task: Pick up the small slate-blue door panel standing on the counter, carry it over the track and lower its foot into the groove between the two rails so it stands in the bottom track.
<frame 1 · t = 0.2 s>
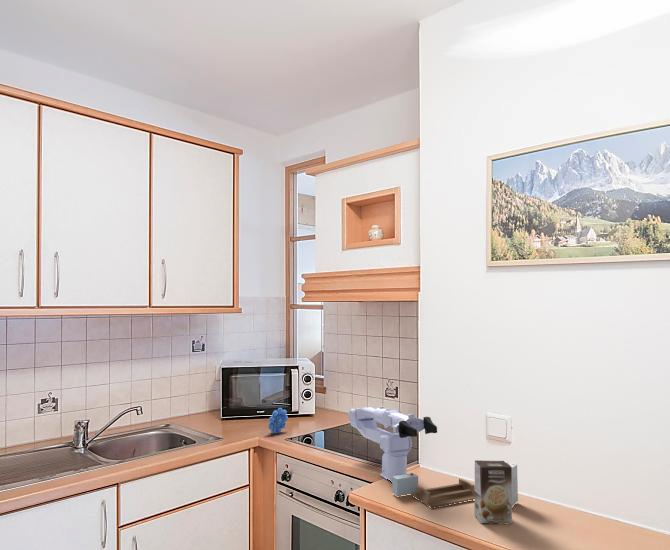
hand: (426, 431, 166), 21 cm above the counter, tool horizontal, fingers open, 7 cm apart
skincare box: (508, 505, 159), on the counter
coffee box: (493, 520, 148), on the counter
door panel: (405, 494, 167), on the counter
grapes: (276, 433, 246), on the counter
track: (445, 498, 164), on the counter
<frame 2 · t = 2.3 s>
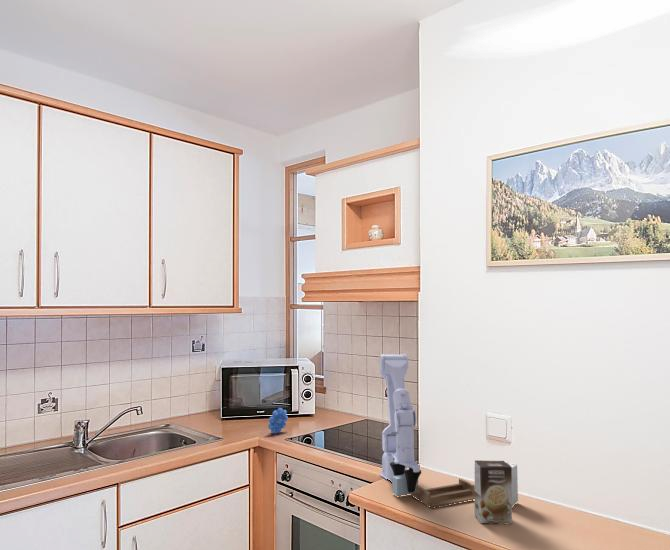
hand: (405, 488, 167), 2 cm above the counter, tool pointing down, fingers open, 7 cm apart
nothing on the counter moved.
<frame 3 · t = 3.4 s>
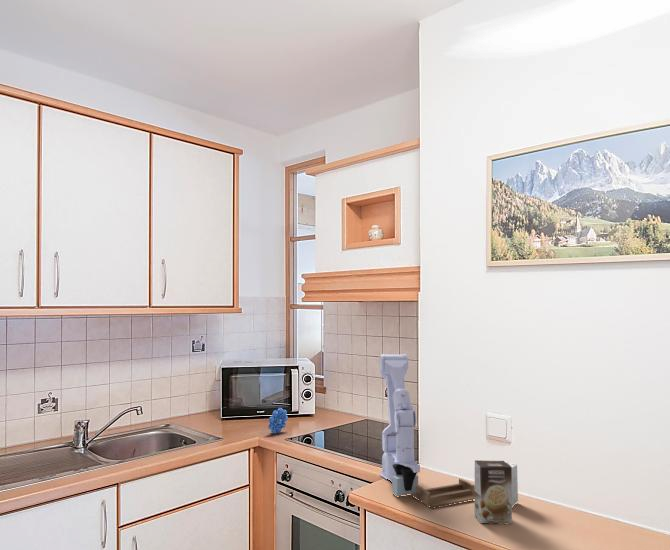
hand: (405, 488, 167), 2 cm above the counter, tool pointing down, fingers closed on door panel, 3 cm apart
door panel: (405, 494, 167), on the counter, touching gripper
everything else where it was.
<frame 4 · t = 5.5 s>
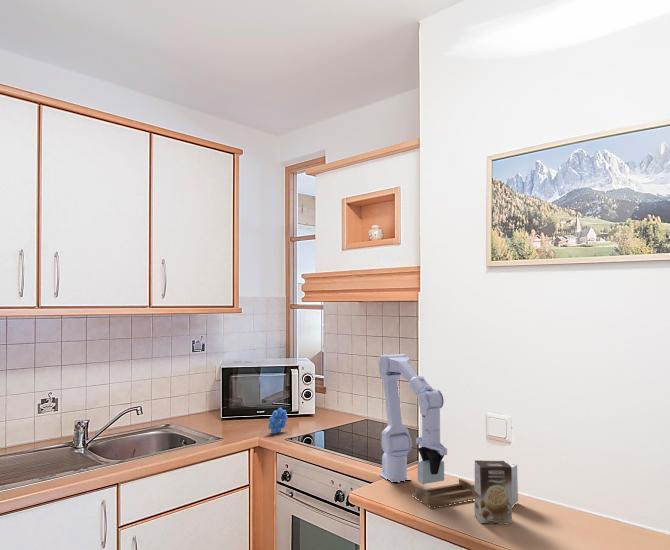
hand: (431, 472, 162), 9 cm above the counter, tool pointing down, fingers closed on door panel, 3 cm apart
door panel: (430, 480, 162), point 6 cm above the counter, touching gripper
everything else where it was.
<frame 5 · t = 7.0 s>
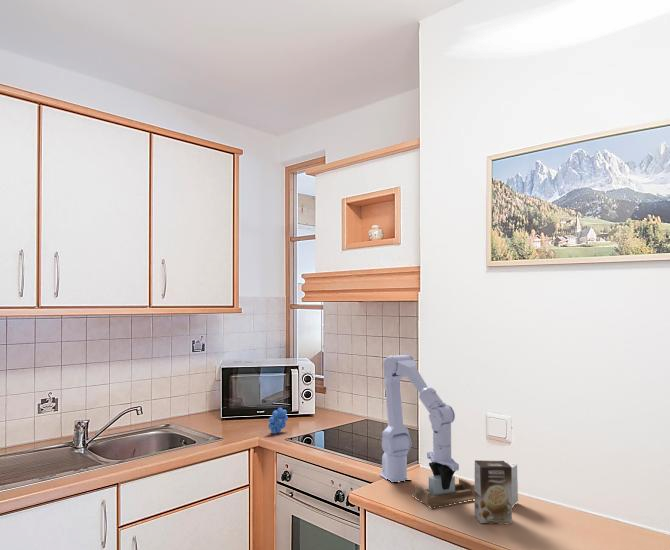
hand: (442, 487, 164), 4 cm above the counter, tool pointing down, fingers closed on door panel, 3 cm apart
door panel: (441, 495, 164), point 1 cm above the counter, touching gripper, track
everything else where it was.
when the fingers open (3 cm above the counter, at t = 7.9 s): door panel stays where it is, resting on track.
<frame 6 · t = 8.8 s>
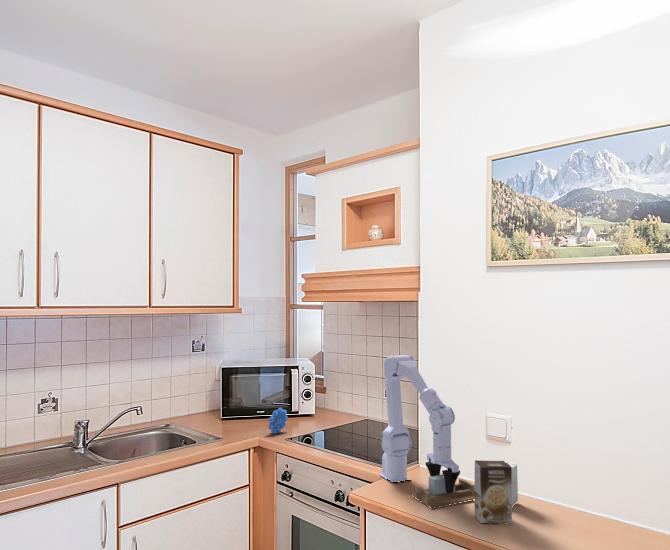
hand: (442, 488, 164), 3 cm above the counter, tool pointing down, fingers open, 7 cm apart
door panel: (441, 495, 164), point 1 cm above the counter, touching track
everything else where it was.
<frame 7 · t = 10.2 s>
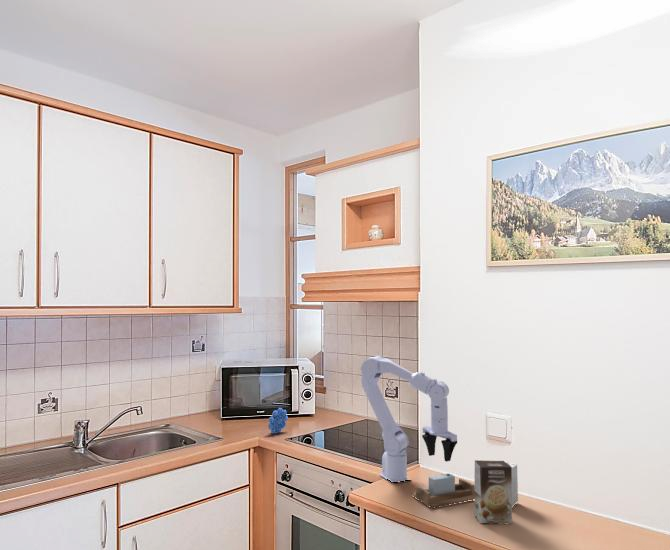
hand: (439, 458, 176), 9 cm above the counter, tool pointing down, fingers open, 7 cm apart
nothing on the counter moved.
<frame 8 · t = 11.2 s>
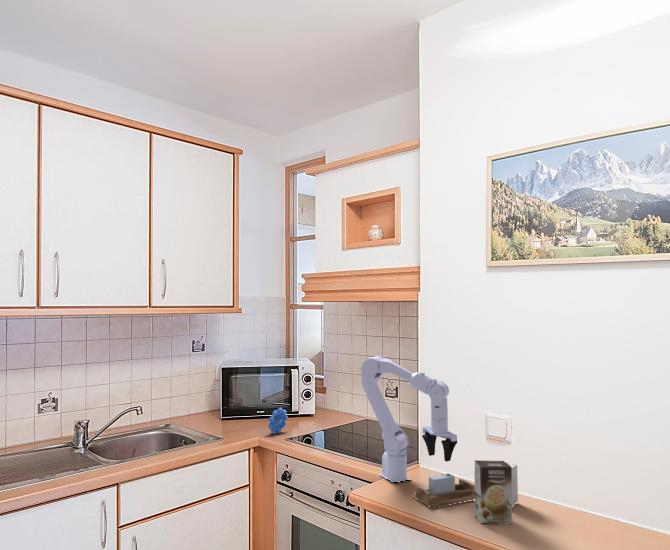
hand: (439, 458, 176), 9 cm above the counter, tool pointing down, fingers open, 7 cm apart
nothing on the counter moved.
at the end: door panel inside the target area on the track (1.3 cm from its centre), point 1.0 cm above the track's base; door panel tilted 0°; the gripper is holding nothing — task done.
